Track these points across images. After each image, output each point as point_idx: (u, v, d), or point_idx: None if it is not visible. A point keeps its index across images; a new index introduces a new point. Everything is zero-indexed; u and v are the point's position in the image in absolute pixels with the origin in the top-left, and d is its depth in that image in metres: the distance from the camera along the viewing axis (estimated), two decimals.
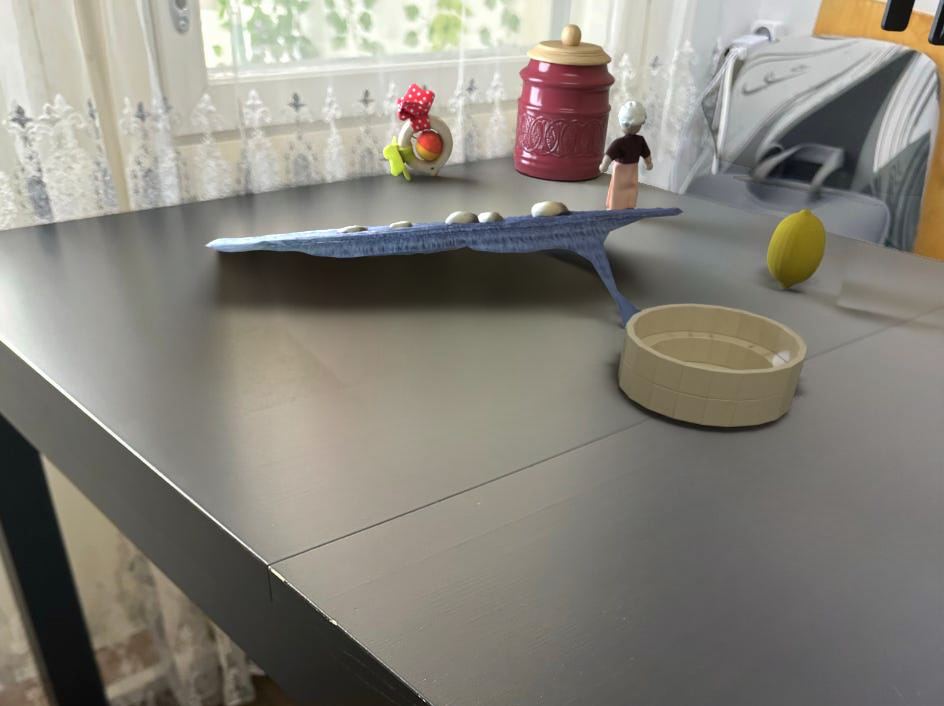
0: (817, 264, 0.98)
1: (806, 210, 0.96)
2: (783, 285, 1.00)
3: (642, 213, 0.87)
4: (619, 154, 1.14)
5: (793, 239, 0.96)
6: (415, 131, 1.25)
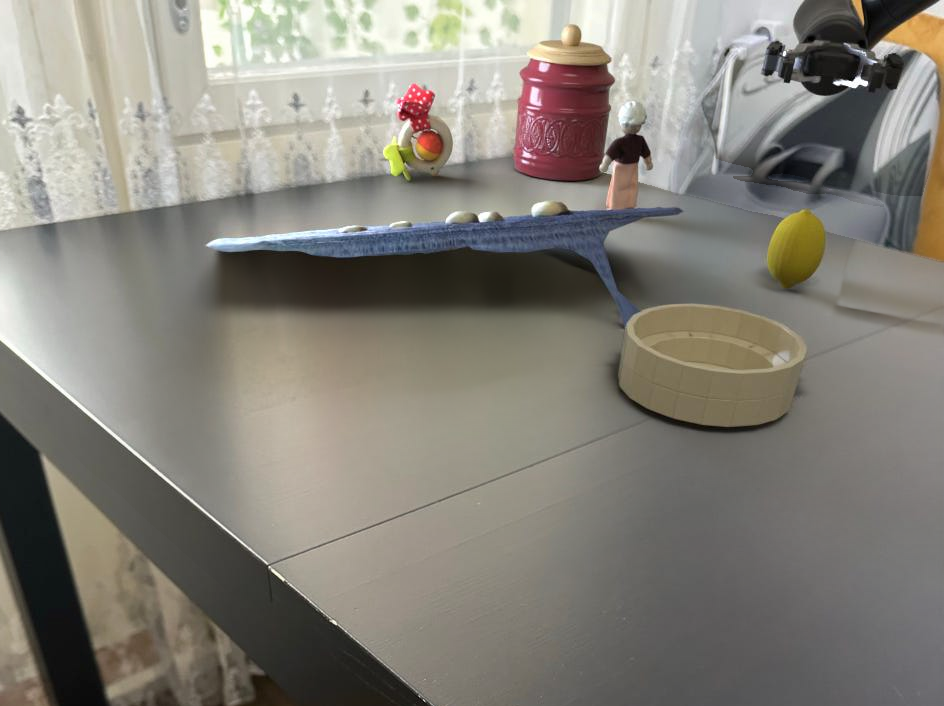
0: (817, 264, 0.98)
1: (806, 210, 0.96)
2: (783, 285, 1.00)
3: (642, 213, 0.87)
4: (619, 154, 1.14)
5: (793, 239, 0.96)
6: (415, 131, 1.25)
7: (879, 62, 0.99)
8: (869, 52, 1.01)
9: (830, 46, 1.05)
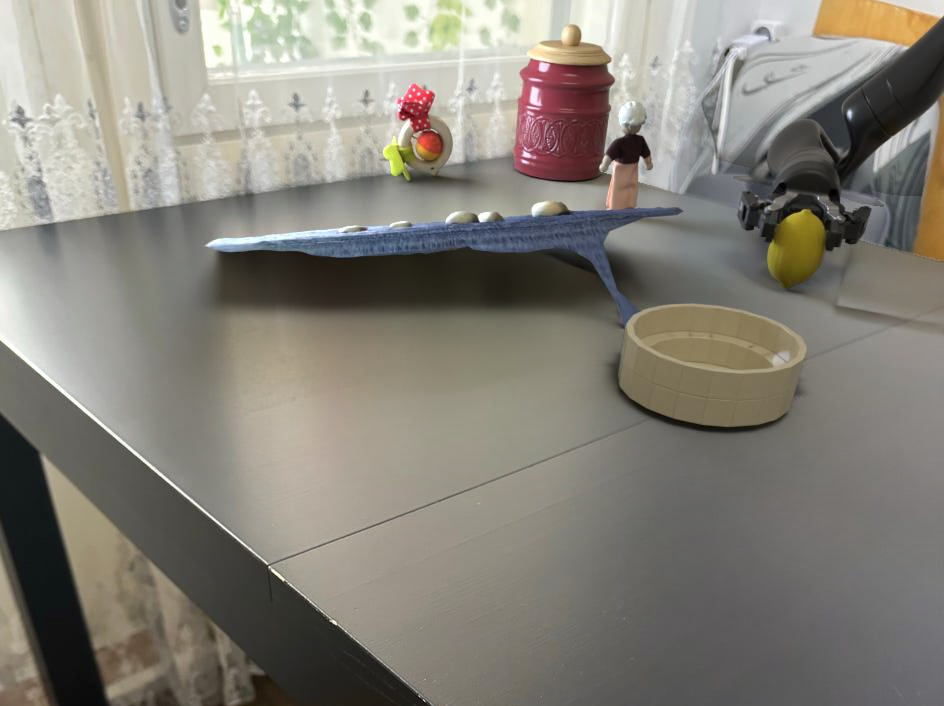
0: (817, 264, 0.98)
1: (806, 210, 0.96)
2: (783, 285, 1.00)
3: (642, 213, 0.87)
4: (619, 154, 1.14)
5: (793, 239, 0.96)
6: (415, 131, 1.25)
7: (836, 218, 0.97)
8: (832, 207, 0.98)
9: (802, 194, 1.04)
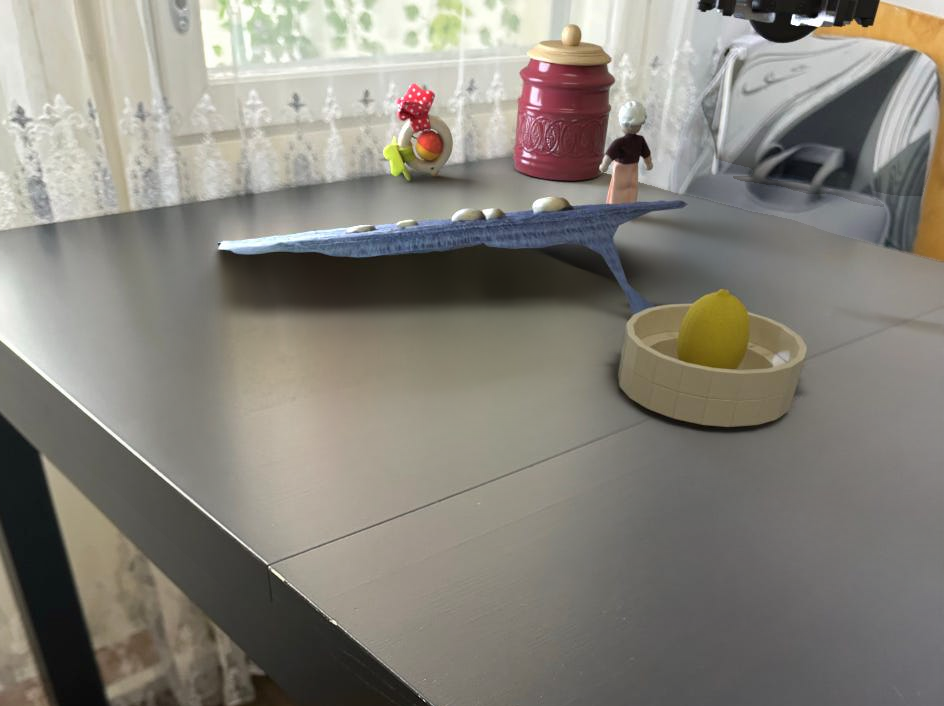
0: (739, 359, 0.75)
1: (723, 291, 0.74)
2: None
3: (649, 206, 0.89)
4: (619, 154, 1.14)
5: (706, 329, 0.74)
6: (415, 131, 1.25)
7: None
8: None
9: None
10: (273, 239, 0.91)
